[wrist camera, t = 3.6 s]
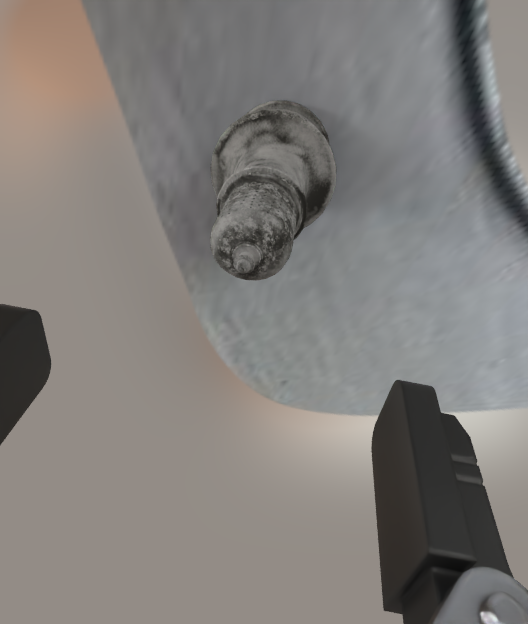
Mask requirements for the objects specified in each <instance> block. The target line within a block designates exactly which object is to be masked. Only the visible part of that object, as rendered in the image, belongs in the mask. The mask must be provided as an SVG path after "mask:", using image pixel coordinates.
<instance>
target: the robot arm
mask: <svg viewBox="0 0 528 624" xmlns="http://www.w3.org/2000/svg"><path fill="white" fill-rule="evenodd" d="M50 369H51V358H50V354H49V349H48V345H47V341H46V336H45V332H44V328H43V323H42V319H41V316H40V314H39V313H38V312H37V311H36V310H31V309H26V308H21V307H15V306H10V305H5V304H0V445H1V443H2V442H3V441H4V439H5V438H6V437H7V435H8V434H9V433H10V431H11V430H12V429H13V427H14V426H15V424H16V423H17V422H18V421H19V419H20V418H21V417H22V415H23V414H24V412H25V411H26V410H27V408H28V407H29V406H30V404H31V403H32V402H33V400H34V399H35V398H36V396H37V395H38V394H39V392H40V391H41V390H42V388H43V387H44V385H45V384H46V382H47V379H48V377H49V374H50ZM372 462H373V475H374V489H375V502H376V515H377V529H378V542H379V554H380V568H381V582H382V595H383V608H384V611H389V612H394V613H399V614H403V623H404V624H528V590H527V589H526V588H525V587H523V586H522V585H521V584H520V583H519V582H518V581H516V580H515V579H514V577H513V575H512V573H511V571H510V568H509V565H508V563H507V560H506V556H505V553H504V549H503V546H502V542H501V539H500V536H499V532H498V529H497V526H496V522H495V519H494V516H493V513H492V509H491V506H490V502H489V499H488V496H487V492H486V489H485V486H483V485H482V483H483V479H482V475H481V473H480V469H479V466H477V464H476V463H477V459H476V455H475V452H474V449H473V446H472V443H471V439H470V437H469V435H468V434H467V432H466V431H465V430H464V428H463V427H462V425H461V424H460V423H459V421H458V420H457V419H456V417H455V416H454V415H449V414H444V413H441V412H440V408H439V404H438V400H437V395H436V392H435V390H434V388H433V387H432V386H428V385H422V384H417V383H412V382H406V381H401V380H396V381H395V382H394V384H393V386H392V388H391V390H390V392H389V394H388V397H387V399H386V401H385V403H384V406H383V408H382V410H381V412H380V415H379V417H378V420H377V422H376V424H375V427H374V431H373V437H372Z"/></svg>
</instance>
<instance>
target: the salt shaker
mask: <svg viewBox="0 0 528 624" xmlns="http://www.w3.org/2000/svg"><path fill="white" fill-rule="evenodd" d="M211 177H212V185H213V188H214V191H215V193H216V196H217V214H218V218H217V220H216V222H215V224H214V226H213V227H212V231H211V237H210V244H211V251H212V254H213V256H214V258H215V260H216V261H217V263H218V264H219V265H220V267H221V268H223V269H224V270H225V271H226V272H228V273H229V274H231V275H233V276H235V277H237V278H241V279H245V280H261V279H266V278H268V277H270V276H273V275H275V274H276V273H277V272H278V271H280V270H281V269H282V268H283V266H284V265H285V263H286V262H287V260H288V259H289V257H290V254H291V251H292V246H293V240H294V239H296V238H297V237H298V236H299V234H300V233H301V231H302V230H303V228H304V227H306V226H308V225H310V224H311V223H312V222H314V221H315V220H316V219H317V218H318V217H319V216H320V215H321V214H322V213H323V211H324V210H325V208H326V207H327V205H328V204H329V202H330V200H331V197H332V194H333V192H334V189H335V183H336V165H335V161H334V156H333V152H332V150H331V148H330V145H329V140H328V135H327V133H326V131H325V129H324V127H323V125H322V123H321V122H320V120H319V119H318V118H317V117H316V116H315V115H314V114H313V113H312V112H311V111H309V110H308V109H306V108H305V107H303V106H301V105H300V104H296V103H293V102H289V101H270V102H267V103H264V104H261V105H258V106H257V107H255V108H254V109H252V110H251V111H249V112H248V113H247V114H246V115H245V116H243V117H242V118H240V119H239V120H237V121H236V122H234V123H233V124H231V125H230V126H229V128H228V129H227V130H226V131H225V132H224V133H223V135H222V136H221V137H220V139H219V141H218V143H217V145H216V148H215V150H214V152H213V157H212V163H211Z"/></svg>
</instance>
